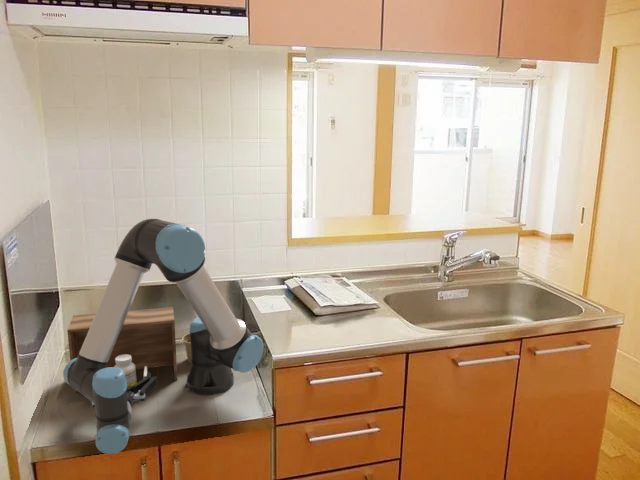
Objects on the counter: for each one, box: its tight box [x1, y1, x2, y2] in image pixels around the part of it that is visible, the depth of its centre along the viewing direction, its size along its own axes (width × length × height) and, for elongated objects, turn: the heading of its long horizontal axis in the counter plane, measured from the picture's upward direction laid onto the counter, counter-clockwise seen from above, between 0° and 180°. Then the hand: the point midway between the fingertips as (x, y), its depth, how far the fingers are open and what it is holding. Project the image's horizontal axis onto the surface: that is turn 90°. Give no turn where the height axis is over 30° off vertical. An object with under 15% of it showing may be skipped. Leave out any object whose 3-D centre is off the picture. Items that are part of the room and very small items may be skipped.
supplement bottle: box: [114, 354, 138, 391], centre depth 159 cm, size 7×7×13 cm
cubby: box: [67, 306, 178, 394], centre depth 171 cm, size 12×32×21 cm, turn 108°
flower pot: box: [181, 332, 191, 363], centre depth 186 cm, size 9×9×9 cm
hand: (122, 372), depth 158 cm, fingers open, 13 cm apart
